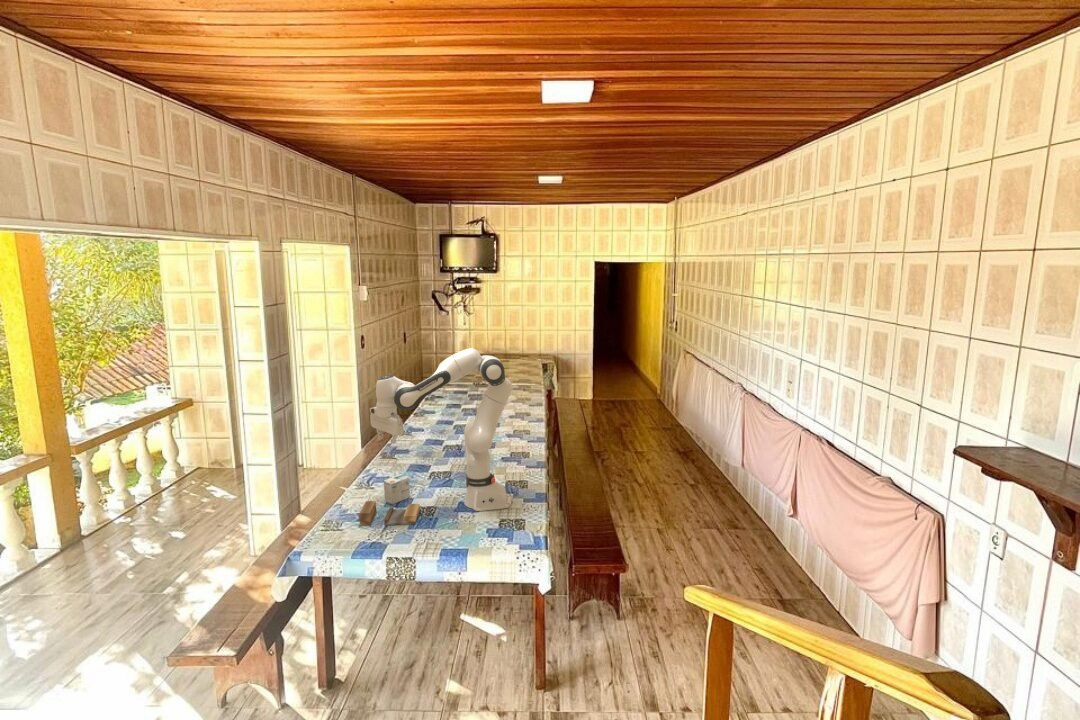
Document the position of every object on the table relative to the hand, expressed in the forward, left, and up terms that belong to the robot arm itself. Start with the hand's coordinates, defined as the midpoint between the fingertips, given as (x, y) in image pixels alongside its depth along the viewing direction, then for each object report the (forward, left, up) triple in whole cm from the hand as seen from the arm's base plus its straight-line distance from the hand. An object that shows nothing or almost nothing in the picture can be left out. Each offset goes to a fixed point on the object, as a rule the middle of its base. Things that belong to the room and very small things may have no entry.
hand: (387, 440), depth 251 cm
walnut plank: (+9, +7, -35) cm, 36 cm away
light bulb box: (0, -13, -35) cm, 37 cm away
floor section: (-7, +7, -34) cm, 36 cm away
